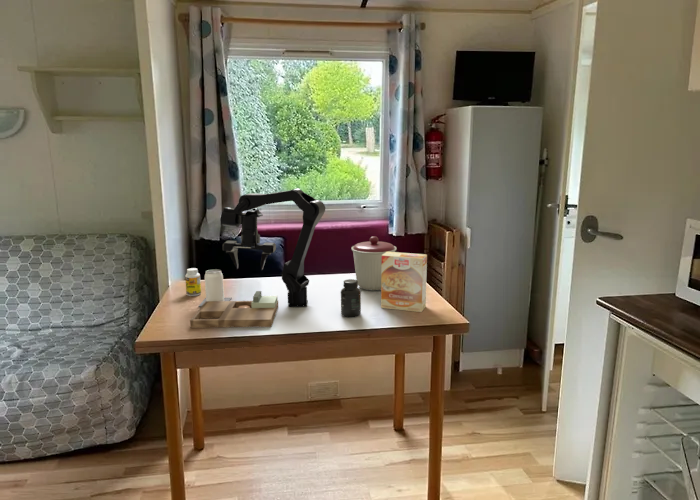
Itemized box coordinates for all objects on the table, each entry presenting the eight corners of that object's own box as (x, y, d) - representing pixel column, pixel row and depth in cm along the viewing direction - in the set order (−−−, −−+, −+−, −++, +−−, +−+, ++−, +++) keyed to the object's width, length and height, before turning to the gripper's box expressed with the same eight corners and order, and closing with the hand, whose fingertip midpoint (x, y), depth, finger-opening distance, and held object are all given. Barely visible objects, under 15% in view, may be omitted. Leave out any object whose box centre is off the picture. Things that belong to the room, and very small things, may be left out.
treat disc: (250, 310, 187) (250, 305, 186) (249, 313, 183) (248, 308, 183) (239, 310, 187) (239, 305, 186) (237, 314, 183) (237, 309, 182)
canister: (354, 280, 223) (354, 231, 219) (397, 282, 221) (397, 232, 216) (348, 293, 206) (348, 240, 201) (394, 294, 203) (395, 241, 199)
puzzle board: (278, 307, 189) (278, 300, 189) (271, 326, 170) (270, 319, 169) (206, 308, 189) (205, 301, 188) (190, 327, 169) (190, 320, 169)
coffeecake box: (380, 308, 187) (380, 255, 183) (386, 302, 194) (386, 250, 190) (421, 312, 182) (423, 258, 178) (426, 306, 189) (427, 253, 185)
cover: (277, 300, 188) (277, 290, 187) (274, 307, 180) (274, 297, 180) (255, 300, 188) (254, 290, 187) (251, 308, 180) (251, 297, 180)
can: (211, 306, 189) (209, 274, 187) (203, 302, 194) (201, 270, 192) (227, 302, 193) (225, 271, 191) (219, 298, 198) (217, 268, 196)
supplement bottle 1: (183, 295, 204) (181, 270, 201) (191, 291, 209) (190, 267, 207) (196, 297, 202) (194, 271, 200) (204, 293, 207) (202, 267, 205)
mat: (231, 298, 200) (231, 297, 200) (226, 306, 190) (226, 305, 190) (205, 298, 200) (205, 297, 200) (198, 307, 190) (198, 306, 190)
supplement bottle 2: (337, 313, 183) (337, 279, 180) (355, 310, 185) (355, 277, 183) (345, 319, 176) (345, 284, 174) (364, 316, 179) (364, 282, 177)
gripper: (278, 225, 199) (278, 265, 203) (230, 223, 200) (230, 262, 203) (273, 230, 188) (272, 272, 192) (221, 228, 189) (222, 270, 193)
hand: (249, 269), depth 195 cm, fingers open, 9 cm apart
